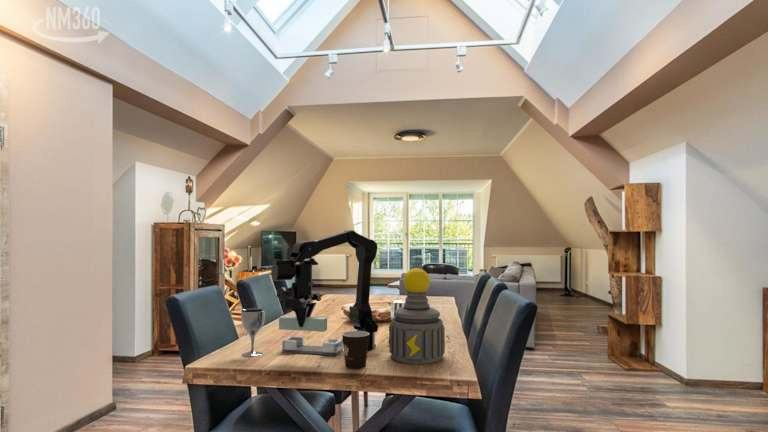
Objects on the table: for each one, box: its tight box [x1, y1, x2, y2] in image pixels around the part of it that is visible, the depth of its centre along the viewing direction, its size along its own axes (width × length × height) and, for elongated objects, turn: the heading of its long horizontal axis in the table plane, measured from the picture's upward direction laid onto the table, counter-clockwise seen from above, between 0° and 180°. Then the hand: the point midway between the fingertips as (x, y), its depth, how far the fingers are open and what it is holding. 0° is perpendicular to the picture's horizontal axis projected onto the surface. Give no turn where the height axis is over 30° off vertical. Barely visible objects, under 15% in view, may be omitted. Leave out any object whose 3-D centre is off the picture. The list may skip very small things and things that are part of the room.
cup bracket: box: [281, 335, 344, 357], centre depth 150 cm, size 20×7×4 cm, turn 78°
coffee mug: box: [341, 330, 369, 370], centre depth 134 cm, size 12×9×10 cm
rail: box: [278, 315, 328, 333], centre depth 141 cm, size 16×3×4 cm, turn 77°
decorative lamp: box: [388, 267, 446, 365], centre depth 144 cm, size 19×19×30 cm
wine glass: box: [240, 307, 266, 358], centre depth 146 cm, size 8×8×15 cm
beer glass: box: [390, 299, 406, 320], centre depth 168 cm, size 7×7×15 cm
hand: (303, 325), depth 141 cm, fingers closed on rail, 3 cm apart
